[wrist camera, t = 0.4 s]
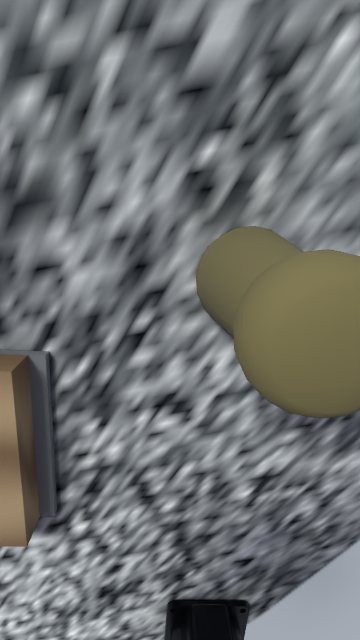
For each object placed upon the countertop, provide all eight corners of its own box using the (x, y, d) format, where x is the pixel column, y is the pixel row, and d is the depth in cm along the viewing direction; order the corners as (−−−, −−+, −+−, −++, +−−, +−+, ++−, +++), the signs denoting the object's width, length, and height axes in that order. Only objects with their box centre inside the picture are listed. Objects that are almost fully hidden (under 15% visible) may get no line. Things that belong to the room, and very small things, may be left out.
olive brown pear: (290, 332, 20) (422, 455, 10) (191, 327, 20) (220, 449, 10) (308, 229, 19) (492, 248, 8) (200, 222, 18) (247, 231, 8)
